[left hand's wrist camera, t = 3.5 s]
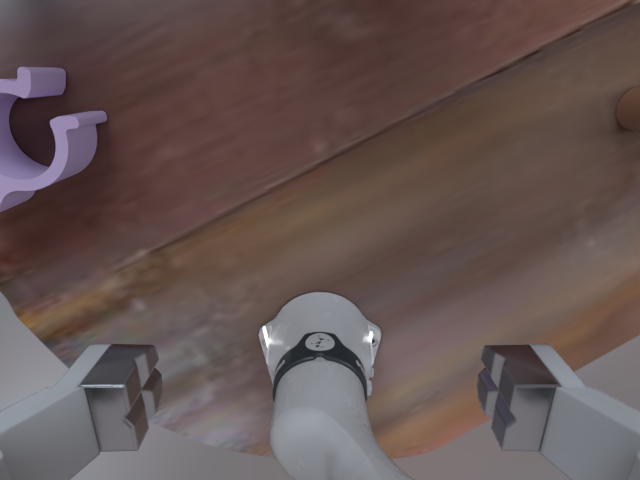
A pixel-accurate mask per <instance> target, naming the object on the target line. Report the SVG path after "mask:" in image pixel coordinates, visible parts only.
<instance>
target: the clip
mask: <svg viewBox="0 0 640 480" xmlns="http://www.w3.org/2000/svg"><path fill="white" fill-rule="evenodd" d="M65 87H66V72H65V70H64V69H62V68H51V67H19V68H18V70H17V79H0V212H2V211H5V210H7V209H9V208H11V207H14V206H16V205H18V204H20V203H23V202H25V201H27V200H29V199H30V198H31V197H32V196H33V195H34V193H35V191H36V190H38V189H41V188H44V187H46V186H49V185H51V184H53V183H56V182H58V181H61V180H63V179H65V178H68V177H70V176H73V175H75V174H77V173H79V172H81V171H82V170H83V169H85V168H86V167H87V166H88V165H89V163H90V162H91V160H92V159H93V157H94V154H95V151H96V147H97V130H96V124H98V123H102V122H105V121H106V120H107V115H106V113H105V112H104V111H88V112H82V113H76V114H70V115H64V116H59V117H56V118H54V119H52V120H51V121H50V126H51V128H52V130H53V133H54V137H55V142H56V151H55V157H54V160H53V162H52V164H51V166H50V167H48V166H44V165H41V164H39V163H37V162H35V161H33V160H32V159H30V158H29V157H28V156H27V155H25V154H24V153H23V152H22V151H21V149H20V148H19V147H18V145H17V144H16V142H15V141H14V139H13V136H12V134H11V131H10V126H9V114H10V110H11V107H12V105H13V104H14V102H15V101H16V100H17V98H19V97H21V98H34V97H45V96H56V95H62V94H63V92H64V90H65Z"/></svg>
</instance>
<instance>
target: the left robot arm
mask: <svg viewBox="0 0 640 480" xmlns="http://www.w3.org/2000/svg"><path fill="white" fill-rule="evenodd" d="M259 339H260V343H261V346H262V350H263V353H264V356H265V360H266V364H267V367H268V370H269V373H270V377H271V380H272V384H273V385H272V387H273V400H274V409H273V417H272V424H271V432H270V443H271V448H272V451H273V454H274V456H275V458H276V460H277V462H278V463H279V465H280V466H281V468H282V469H283V470H284V472H285V473H286V474H287V475H288V476H289V477H290V478H291V479H292V480H414V479H413V478H412V477H410V476H409V475H408V474H406V473H405V472H404V471H403V470H402V469H401V468H399V467H398V466H397V465H396V464H395V463H394V462H393V461H392V460H391V459H390V457H389V456H388V455H387V454H386V453H385V452H384V450H383V449H382V448H381V447H380V445H379V444H378V442H377V440H376V439H375V437H374V435H373V432H372V429H371V425H370V421H369V417H368V413H367V407H366V400H367V396H368V397H369V396H371V392H372V382H371V381H369V377H370V378H373V375H374V368H372V367H373V364H374V360H375V356H376V353H377V350H378V346H379V343H380V339H381V330H380V328H379V327H378V326H376V325H375V324H373V323H372V322H370V321H368V320H367V319H366V318H365V317H364V316H363V315H362V313H361V312H360V310H359V309H358V308H357V307H356V306H355V305H354V304H353V303H352V302H350V301H349V300H347V299H345V298H344V297H341V296H339V295H336V294H332V293H327V292H314V293H308V294H304V295H301V296H299V297H296V298H295V299H293V300H291V301H290V302H288V303H287V304H286V305H285V306H284V307H283V308H282V309H281V310H280V312H279V313H278V315H277V316H276V317H275V318H274V319H273V320H272V321H270V322H268V323H267V324H265V325H264V326H262V327H261V328H260V330H259ZM268 339H269V340H268ZM372 339H373V341H372ZM158 360H159V357H158V352H157V348H156V347H155V346H154V345H134V344H93V345H90V346H88V347H87V349H86V350H85V351H84V352H83V353H82V354H81V356H80V357H79V358H78V359H77V360H76V361H75V363H74V364H73V365H72V366H71V367H70V368H69V370H68V371H67V372H66V373H65V374H64V376H63V377H62V378H61V379H60V380H59V381H58V383H57V384H56V385H55V386H54V387H46V388H44V389H42V390H40V391H38V392H36V393H34V394H33V395H31V396H29V397H27V398H25V399H23V400H21V401H19V402H17V403H15V404H13V405H11V406H9V407H7V408H5V409H3V410H1V411H0V480H70V479H71V478H72V477H73V476H75V475H76V474H77V473H78V472H79V471H81V470H82V469H83V468H84V467H85V466H86V465H88V464H89V463H90V462H91V461H92V460H93V459H95V458H96V457H97V456H98V455H99V454H100V452H109V451H138V449H139V447H140V445H141V443H142V441H143V439H144V437H145V435H146V433H147V431H148V429H149V426H148V419H149V418H150V417H152V416H153V415H155V414H156V412H157V410H158V408H159V405H160V402H161V397H162V393H163V382H162V375H161V373H160V372H159V371H158V370H157V369H156V368H155V366H156V364H157V362H158ZM481 360H482V362H483V364H484V366H485V368H484V369H483V370H482V371H481V372H480V373H479V375H478V383H477V390H478V398H479V402H480V406H481V408H482V410H483V412H484V414H485V415H487V416H488V417H490V418H491V419H492V426H491V429H492V431H493V433H494V435H495V437H496V439H497V441H498V443H499V445H500V447H501V449H502V451H530V452H540V454H541V455H542V456H543V457H544V458H546V459H547V460H548V461H549V462H550V463H551V464H553V465H554V466H555V467H556V468H557V469H558V470H560V471H561V472H562V473H563V474H564V475H565V476H567V477H568V478H569V479H570V480H640V411H638V410H637V409H635V408H633V407H631V406H629V405H627V404H625V403H623V402H621V401H619V400H617V399H615V398H613V397H611V396H609V395H607V394H606V393H604V392H602V391H600V390H598V389H596V388H594V387H586V386H585V385H584V384H583V383H582V381H581V380H580V379H579V378H578V377H577V376H576V374H575V373H574V372H573V371H572V370H571V369H570V367H569V366H568V365H567V364H566V363H565V361H564V360H563V359H562V358H561V357H560V356H559V354H558V353H557V352H556V351H555V350H554V349H553V347H552V346H550V345H548V344H526V345H485V347H484V349H483V351H482V357H481Z"/></svg>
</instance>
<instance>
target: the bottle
mask: <svg viewBox="0 0 640 480" xmlns="http://www.w3.org/2000/svg"><path fill="white" fill-rule="evenodd" d="M616 118H617V121H618V123H619V124H620V125H621V126H622V127H623V128H625V129H628V130H633V131H638V132H640V86H636V87H634V88H632V89H630V90H629V91H627V92H626V93H625V94H624V95H623V96H622V98H621V99H620V101H619V103H618V105H617V108H616Z"/></svg>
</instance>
